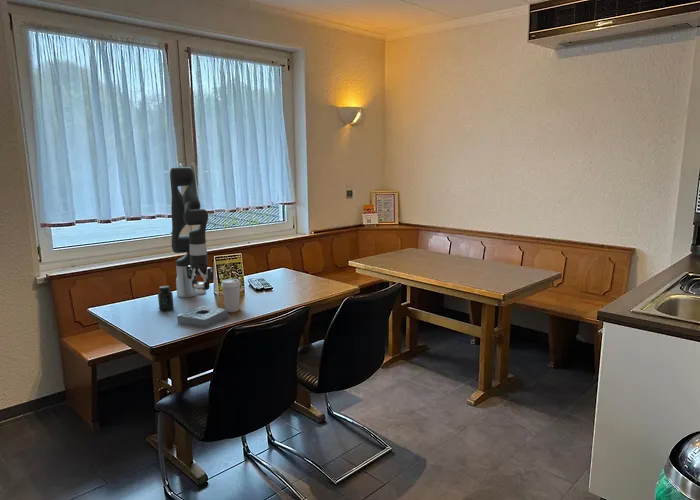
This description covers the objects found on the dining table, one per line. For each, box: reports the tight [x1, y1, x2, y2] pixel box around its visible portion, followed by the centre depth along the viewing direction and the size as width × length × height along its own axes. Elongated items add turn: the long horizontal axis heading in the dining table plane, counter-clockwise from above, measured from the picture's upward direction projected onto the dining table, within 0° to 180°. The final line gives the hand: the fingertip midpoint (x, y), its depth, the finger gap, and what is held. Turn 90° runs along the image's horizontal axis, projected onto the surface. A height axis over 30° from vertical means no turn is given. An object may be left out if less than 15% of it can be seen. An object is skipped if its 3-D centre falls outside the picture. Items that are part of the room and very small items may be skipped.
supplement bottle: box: [157, 285, 175, 313], centre depth 246 cm, size 7×7×12 cm
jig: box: [176, 305, 229, 329], centre depth 230 cm, size 16×16×4 cm
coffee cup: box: [220, 278, 242, 313], centre depth 244 cm, size 10×10×15 cm
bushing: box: [194, 281, 207, 296], centre depth 228 cm, size 6×6×5 cm
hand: (201, 288), depth 228 cm, fingers closed on bushing, 6 cm apart
